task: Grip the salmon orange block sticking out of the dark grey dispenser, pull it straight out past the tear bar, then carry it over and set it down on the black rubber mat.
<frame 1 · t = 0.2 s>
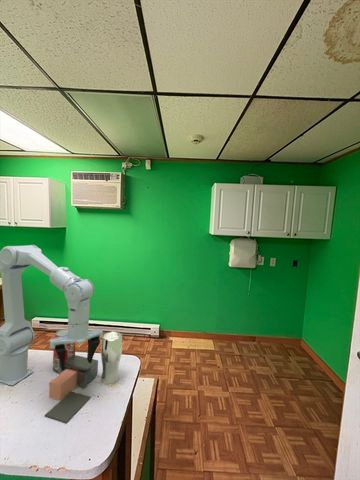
hand: (76, 365, 72), 10 cm above the table, fingers open, 7 cm apart
soda can: (63, 367, 86), on the table
salmon orange block: (66, 389, 75), on the table
beer glass: (110, 379, 81), on the table
dispenser: (78, 378, 80), on the table
mat: (69, 406, 68), on the table
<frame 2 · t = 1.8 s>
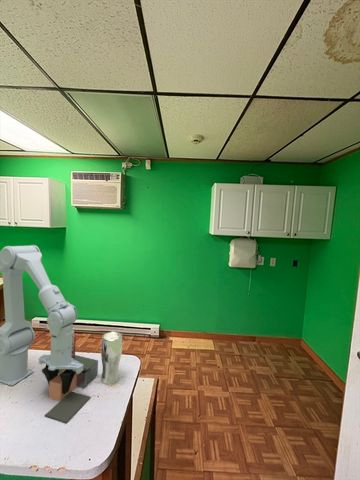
hand: (59, 390, 72), 1 cm above the table, fingers closed on salmon orange block, 4 cm apart
salmon orange block: (66, 388, 75), on the table, touching gripper
everything else where it was.
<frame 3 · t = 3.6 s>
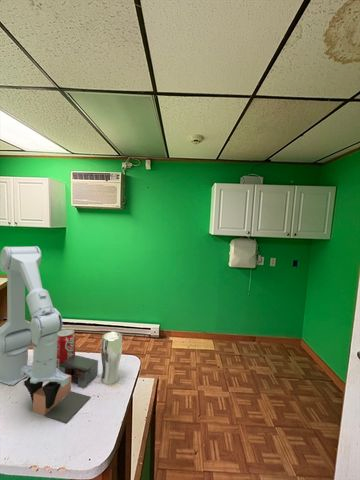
hand: (43, 404, 66), 1 cm above the table, fingers closed on salmon orange block, 4 cm apart
salmon orange block: (53, 400, 70), on the table, touching gripper
everything else where it was.
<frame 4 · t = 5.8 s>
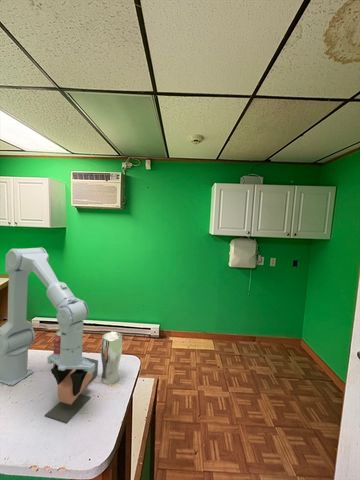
hand: (69, 391, 67), 4 cm above the table, fingers closed on salmon orange block, 4 cm apart
salmon orange block: (77, 388, 70), point 3 cm above the table, tilted 12°, touching dispenser, gripper
everything else where it was.
when the fingers open (3 cm above the table, at t = 6.6 s): salmon orange block stays where it is, resting on dispenser, mat.
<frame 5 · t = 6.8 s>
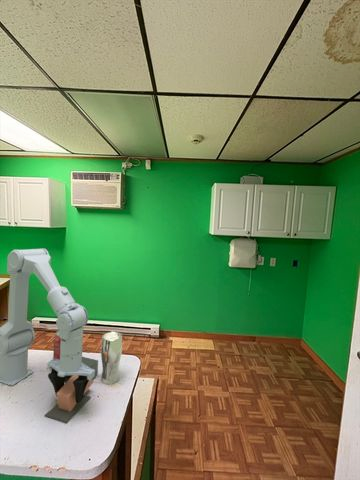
hand: (69, 397, 67), 3 cm above the table, fingers open, 6 cm apart
salmon orange block: (76, 394, 70), point 1 cm above the table, tilted 12°, touching dispenser, mat
everything else where it was.
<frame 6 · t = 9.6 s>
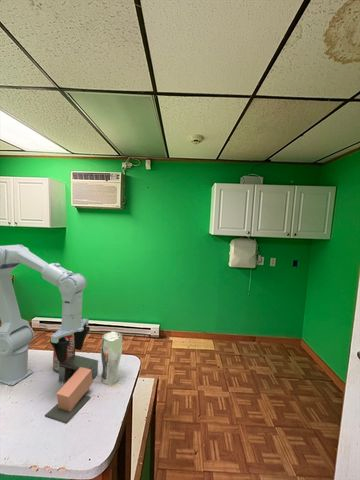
hand: (70, 354, 75), 10 cm above the table, fingers open, 7 cm apart
nothing on the table moved.
at the end: salmon orange block inside the target area (3.1 cm from its centre), point 1.4 cm above the table; salmon orange block moved 6.8 cm from its start; the gripper is holding nothing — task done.
